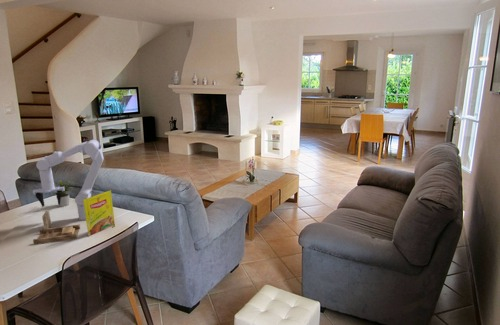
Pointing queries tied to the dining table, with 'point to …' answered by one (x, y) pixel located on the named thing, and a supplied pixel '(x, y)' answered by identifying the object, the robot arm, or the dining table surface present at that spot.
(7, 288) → the dining table surface
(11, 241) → the dining table surface
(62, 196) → the house plant
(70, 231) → the oak offcut stack
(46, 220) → the birch sheet
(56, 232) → the walnut rack
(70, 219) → the dining table surface
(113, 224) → the food package
